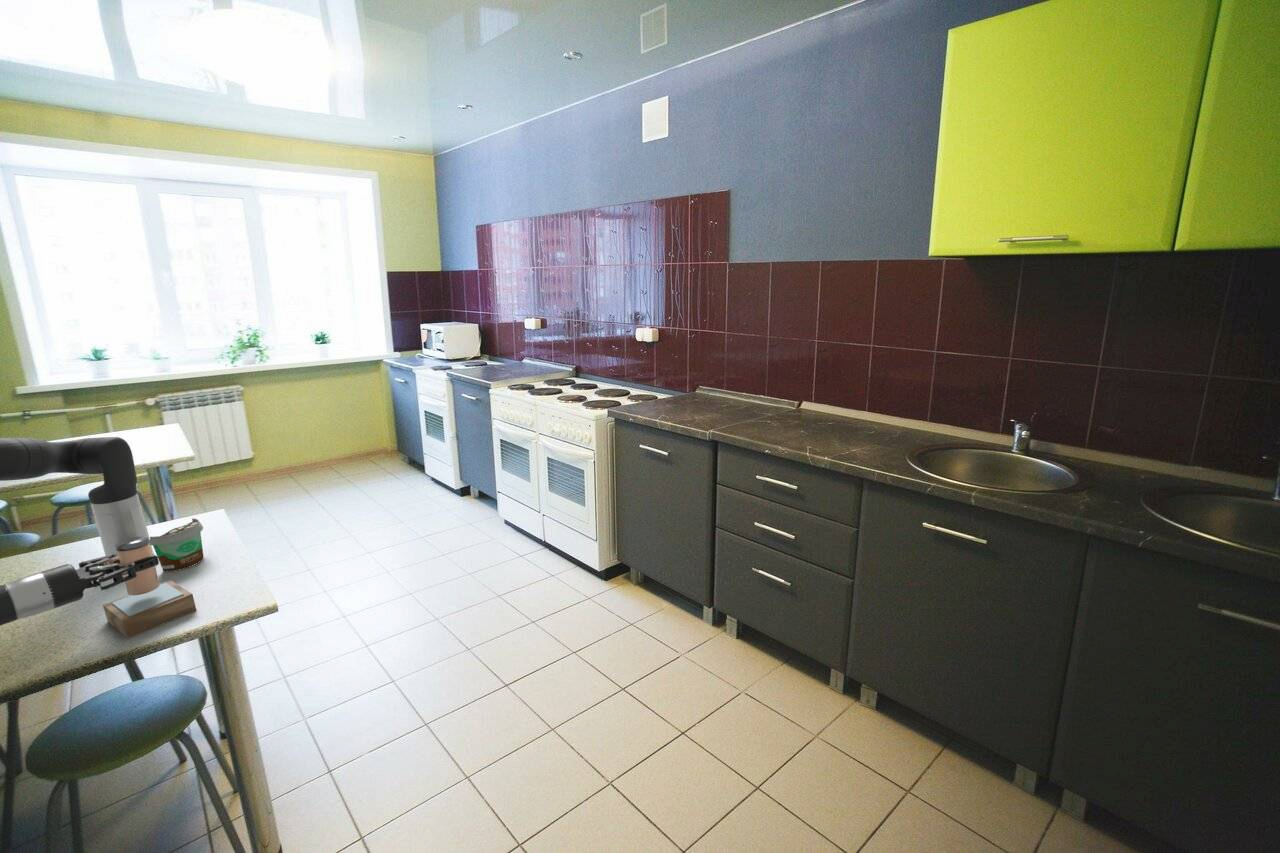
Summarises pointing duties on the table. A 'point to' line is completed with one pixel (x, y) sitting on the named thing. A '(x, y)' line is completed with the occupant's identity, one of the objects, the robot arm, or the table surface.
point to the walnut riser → (149, 609)
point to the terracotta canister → (133, 552)
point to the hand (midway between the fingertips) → (151, 556)
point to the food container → (179, 546)
